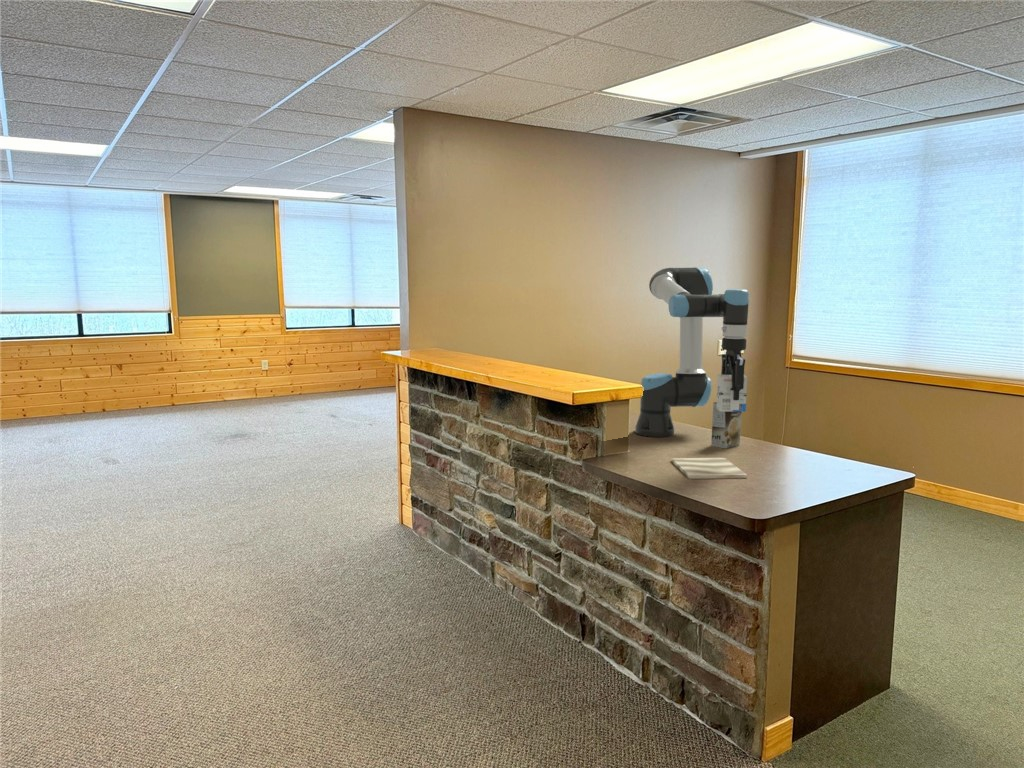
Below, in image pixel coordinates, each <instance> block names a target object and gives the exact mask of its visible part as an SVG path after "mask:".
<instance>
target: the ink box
mask: <svg viewBox="0 0 1024 768" xmlns="http://www.w3.org/2000/svg"><path fill="white" fill-rule="evenodd" d="M716 382H717V383H716V384H717V385H716V386H717V387H716V402H717V408H716V409H717V410H719V411H720V412H742V413H743V412H746V409H747V392H748V377H747V375H745V374H744V388H743V389H741V390H740V398H739V410H730V397H731V390H730V389H731V388H732V375H721V374H717V381H716Z"/></svg>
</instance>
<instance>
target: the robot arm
mask: <svg viewBox="0 0 1024 768" xmlns="http://www.w3.org/2000/svg"><path fill="white" fill-rule="evenodd" d="M648 283H649V284H648V287H649V291H650V293H651V295H652V296H653V297H654V298H655V299H657V300H663V301H664V302H665V303H666V304H667V305H668V312H669V314H670V316H671V317H674V318H679V368H678V369H677V370H676V371H675V376H673V375H672V374H671V373H667V372H664V373H663V372H659V373H653V374H652V373H651V374H648V375H645V376H643V377H642V379H641V381H640V382H641V383H640V386H641V385H642V386H643V387H644V391H643V396H642V397H641V396H640V404H639V405H640V407H639V409H640V413H639V416H638V418H637V421H636V424H635V428H634V433H635V434H637V435H640V436H645V437H651V438H652V437H655V438H658V437H659V438H664V437H665V438H666V437H671V436H673V435H675V426H674V422H673V419H672V416H671V409H672V408H673V407H675V408H676V407H677V408H678V407H679V408H680V407H683V408H685V407H689V408H690V407H692V408H696V407H703V406H705V405H707V404H708V402H709V400H710V398H711V394H712V379H711V378H710V377H709V376H707V372H706V370H704V369H703V330H704V329H703V327H704V325H703V321H704V318H722V327H721V330H722V337H723V338H722V339H721V349H722V350H724V351H725V353H722V354H721V374H720V375H732V388H731V389H730V390H731V397H730V410H739V398H740V390H741V389H743V388H744V375H745V364H746V359H745V358H742V351H745V350H746V349H747V339H746V337H747V336H748V320H749V319H748V318H749V305H750V304H749V303H750V292H749V290H748V289H738V288H737V289H735V288H734V289H733V288H731V289H726V290H725V291H724V293H719V294H713V290H714V289H713V288H714V286H713V285H714V284H713V278H712V275H711V273H710V271H709V270H708V269H707V268H704V267H666V268H662V269H660V270H658V271H657V272H655V273H654V274H653V275H652V277H651V278H650V279H649V282H648Z"/></svg>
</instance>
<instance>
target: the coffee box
mask: <svg viewBox="0 0 1024 768" xmlns="http://www.w3.org/2000/svg"><path fill="white" fill-rule="evenodd" d="M716 408H717V401H714V402H713V406H712V421H711V422H712V425H711V443H710V444H711V446H712V447H717V448H722V449H728V448H733V447H738V446H740V443H741V429H742V428H741V426H742V413H743V412H720V411H719V410H717V409H716Z"/></svg>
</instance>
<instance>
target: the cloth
mask: <svg viewBox="0 0 1024 768" xmlns="http://www.w3.org/2000/svg"><path fill="white" fill-rule="evenodd" d="M670 459H671V461H670V462H671V463H672V464H674V466H675V467H676V468H678V470H680V471H681V473H683V475H685V476H686V477H687V478H688V479H691V480H692V479H693V480H695V479H697V480H699V479H700V480H701V479H747V478H748V475H747V473H745V472H744V471H743V470H741V469H740V468H739V467H737V466H736V465H734V464H733V462H731V461H729V460H728V459H726V458H725V457H690V458H689V457H683V458H681V457H679V458H670Z"/></svg>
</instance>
